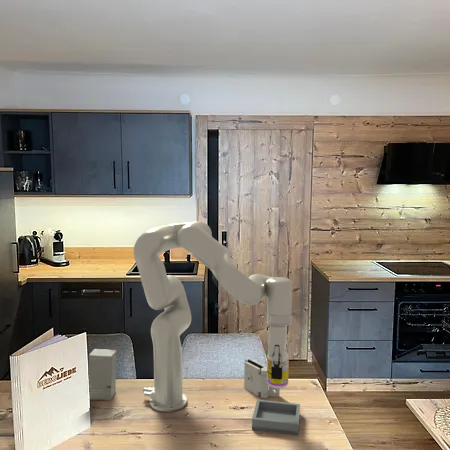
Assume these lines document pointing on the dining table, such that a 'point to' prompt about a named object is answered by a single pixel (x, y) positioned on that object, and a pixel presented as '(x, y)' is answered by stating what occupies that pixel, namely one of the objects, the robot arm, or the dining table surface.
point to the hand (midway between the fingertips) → (277, 372)
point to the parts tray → (276, 417)
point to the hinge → (258, 380)
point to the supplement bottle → (285, 369)
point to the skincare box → (102, 374)
